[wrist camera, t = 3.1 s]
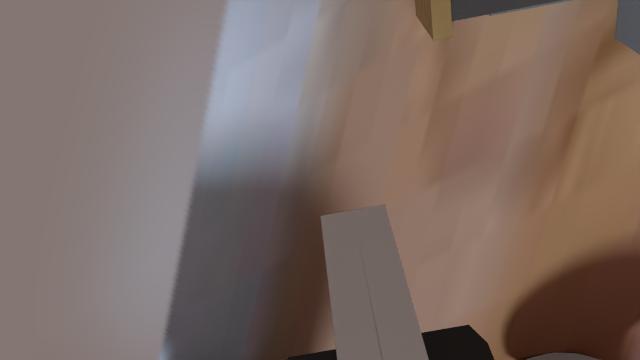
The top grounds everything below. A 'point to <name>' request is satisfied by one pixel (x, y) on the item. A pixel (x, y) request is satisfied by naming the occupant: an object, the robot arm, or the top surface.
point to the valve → (562, 357)
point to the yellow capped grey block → (462, 12)
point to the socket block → (632, 22)
